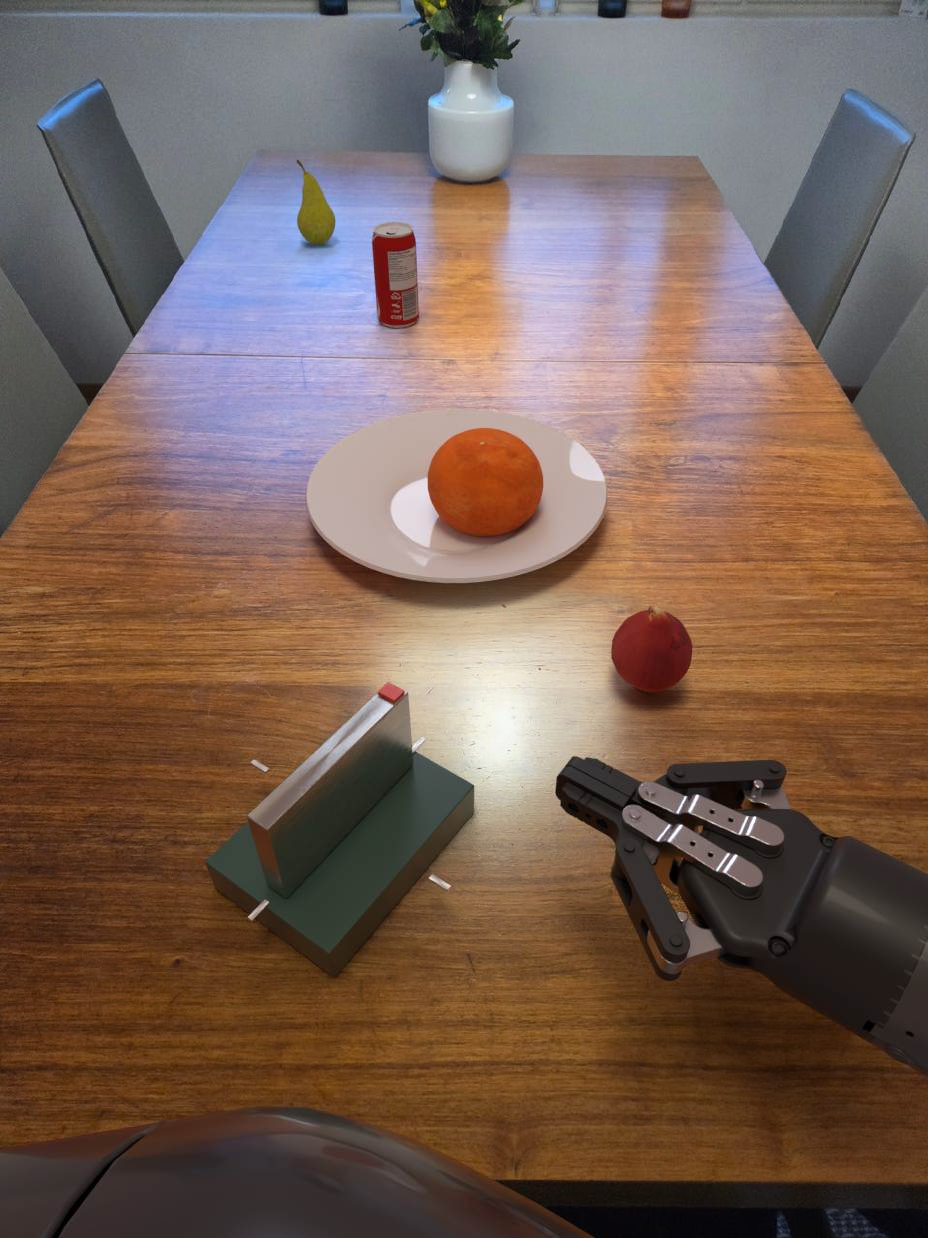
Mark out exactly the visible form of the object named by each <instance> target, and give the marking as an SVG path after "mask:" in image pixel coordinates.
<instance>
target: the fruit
mask: <svg viewBox="0 0 928 1238" xmlns="http://www.w3.org/2000/svg"><path fill="white" fill-rule="evenodd" d="M296 163H297V164H298V166H299V167H300V168H301V169H302V171H303V176H302V178H303V185H302V191H301V193H302V194H301V196H302V198H301V205H300V208H299V211H298V213H297V218H296V225H297V228H298V231H299V233H300V234H301V236H302V238H303V239H304V240H305V241H306V242H308V243H309V244H310V245H311V244H312V245H314V246H322V245H323V246H324V245H325V244H326V243H328V242H329V240H330V239H331V238H332V236H333V234H334V232H335V228H336V216H335V213H334V211H333V209H332V207H331V206H330V204H329V203H328V201H327V199H326V196H325V194H324V192H323V190H322V188H321V186H320V184H319V182H318V180H317V179H316V178H315V176H314V175H313V174H312V173H311V172H308V171H306V169H305V167H304V165H303V163H302V162H301V161H300V160H299V159H296Z"/></svg>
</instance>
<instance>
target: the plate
mask: <svg viewBox="0 0 928 1238" xmlns="http://www.w3.org/2000/svg"><path fill="white" fill-rule="evenodd" d="M317 461H318V462H316V464H315V466H314V467H313V469H312V471H311V473H310V476H309V478H308V482H307V486H306V489H305V508H306V511H307V514H308V518H309V520H310V522H311V524H312V525H313V527H314V529H315V530H316V532H317V533H318V534H319V536H320V537H321V538H322V539H323V540H324V541H325V542H326V543H327V544H328V545H329V546H331V547H332V548H333V549H334V550H335V551H337V552H338V553H340V554H341V555H342V556H344V557H346V558H348V559H349V560H351V561H353V562H355V563H357V564H359V565H361V566H364V567H366V568H369V569H371V570H374V571H377V572H379V573H382V574H386V575H390V576H393V577H398V578H402V579H408V580H411V581H420V582H425V583H426V582H427V583H439V584H468V583H469V584H470V583H482V582H490V581H497V580H498V581H499V580H501V579H508V578H512V577H516V576H519V575H524V574H527V573H530V572H533V571H536V570H539V569H542V568H544V567H546V566H549V565H551V564H553V563H555V562H557V561H559V560H561V559H563V558H564V557H566V556H568V555H569V554H571V553H572V552H574V551H575V550H577V549H578V548H580V547H581V546H582V544H584V543H585V542H586V541H587V540H588V539H589V538H590V537H591V536H592V535H593V534H594V532H595V531H596V530H597V529H598V527H599V526H600V524H601V522H602V520H603V518H604V516H605V513H606V509H607V505H608V487H607V482H606V478H605V476H604V473H603V470H602V469H601V467H600V465H599V463H598V462H597V461H596V459H595V458H594V457H593V456H592V455H591V453H590V452H589V451H588V450H587V449H586V448H585V447H584V446H583V445H581V444H580V443H579V442H578V441H576V440H575V439H573V438H572V437H571V436H569V435H567V434H566V433H564V432H562V431H560V430H558V429H557V428H554V427H552V426H550V425H547V424H545V423H542V422H540V421H537V420H534V419H531V418H528V417H524V416H521V415H518V414H517V415H516V414H511V413H507V412H504V411H503V412H501V411H496V410H487V409H479V408H478V409H477V408H439V409H429V410H422V411H414V412H409V413H405V414H401V415H396V416H391V417H389V418H385V419H382V420H379V421H376V422H374V423H371V424H368V425H365V426H364V427H362V428H360V429H357V430H355V431H354V432H352V433H350V434H348V435H347V436H345V437H344V438H342V439H341V440H339V441H338V442H336V443H335V444H334V445H333V446H331V447H330V448H329V449H328V450H327V451H326V452H325V453H324V454H323V455H322V456H321V457H320V459H319V460H317Z"/></svg>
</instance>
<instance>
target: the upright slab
mask: <svg viewBox="0 0 928 1238" xmlns="http://www.w3.org/2000/svg"><path fill="white" fill-rule="evenodd" d="M409 696H410V695H409V692H408V691H406V690H404V689H403V688H400V687H399V686H397V685H395V684H393V683H391V682H390V681H387V682H386V683H385V684H384V685H383V686H381V687H380V689H379V690H377V691H376V693H375V694H374V695H373V696H372V697H371V698H370V699H369V700H367V701H366V702H365V704H363V705H362V706H361V707H360V708H359V709H358V710H357V711H356V712H355V713H354V714H353V715H352V716H350V717H349V718H348V720H346V721H345V723H343V724H342V725H341V726H340V727H339V728H338V729H337V730H335V731H334V732H333V734H331V735H330V736H329V737H328V738H327V739H326V740H325V741H324V742H323V743H322V744H321V745H320V746H319V747H317V749H315V750H314V751H313V752H312V753H311V754H310V755H309V756H308V757H307V758H306V759H305V760H303V762H301V764H299V765H298V767H296V768H295V769H294V770H293V771H292V772H291V773H290V774H289V775H288V776H287V777H285V779H284V780H283V781H281V782H280V783H279V784H278V786H276V787H275V788H274V789H273V790H272V791H271V792H270V793H269V794H267V795H266V796H265V797H264V798H263V799H262V800H261V801H260V802H259V803H258V804H257V805H256V806H254V808H253V809H252V810H250V811H249V812H248V813H247V815H246V818H247V822H248V823H249V826H250V829H251V833H252V836H253V839H254V843H255V846H256V850H257V853H258V856H259V860H260V863H261V866H262V870H263V873H264V877H265V880H266V883H267V886H269V887H270V888H272V889H273V890H274V891H276V892H277V893H278V894H280V895H281V896H283V897H284V898H288V896H289V895H290V894H291V893H292V892H293V891H294V890H295V889H296V888H297V887H298V886H299V885H300V884H301V883H302V882H303V881H304V880H305V879H306V877H307V876H308V875H309V874H310V873H311V872H312V871H313V870H314V869H315V868H316V867H317V866H318V865H319V864H320V863H321V862H322V861H323V859H324V858H325V857H326V856H327V855H328V854H329V853H330V852H331V851H332V850H333V849H334V848H335V847H336V846H337V845H338V844H339V843H340V841H341V840H342V839H343V838H344V837H345V836H346V835H347V834H348V833H349V832H350V831H351V830H352V829H353V828H354V827H355V826H356V825H357V824H358V822H359V821H360V820H361V819H362V818H363V817H364V816H365V815H366V814H367V813H368V812H369V811H370V810H371V809H372V808H373V807H374V806H375V804H376V803H377V802H378V801H379V800H380V799H381V798H382V797H383V796H384V795H385V794H386V793H387V792H388V791H389V790H390V789H391V788H392V787H393V785H394V784H395V783H396V782H397V781H398V780H399V779H400V778H401V777H402V776H403V775H404V774H405V773H406V772H407V771H408V770H409V769H410V767H411V766H412V765H413V751H412V746H413V740H412V739H413V737H412V726H411V725H412V724H411V711H410V709H411V708H410V697H409Z"/></svg>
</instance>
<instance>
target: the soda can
mask: <svg viewBox="0 0 928 1238" xmlns="http://www.w3.org/2000/svg"><path fill="white" fill-rule="evenodd" d="M371 249H372V263H373V276H374V288H375V290H374V291H375V303H376V317H377V320H378V321H379V322H380V323H381V325H383V326H385V327H387V328H392V329H402V328H408V327H410V326H413V325H414V324H415V323H416V322H417V321H418V320H419V318H420V309H419V308H420V307H419V284H418V283H419V282H418V262H417V261H418V259H417V239H416V236H415V233H414V227H413V226H412V225H411V224H409V223H406V222H401V221H389V222H388V221H387V222H382V223H379V224H377V225H376V226H374V227H373V233H372V239H371Z"/></svg>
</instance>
